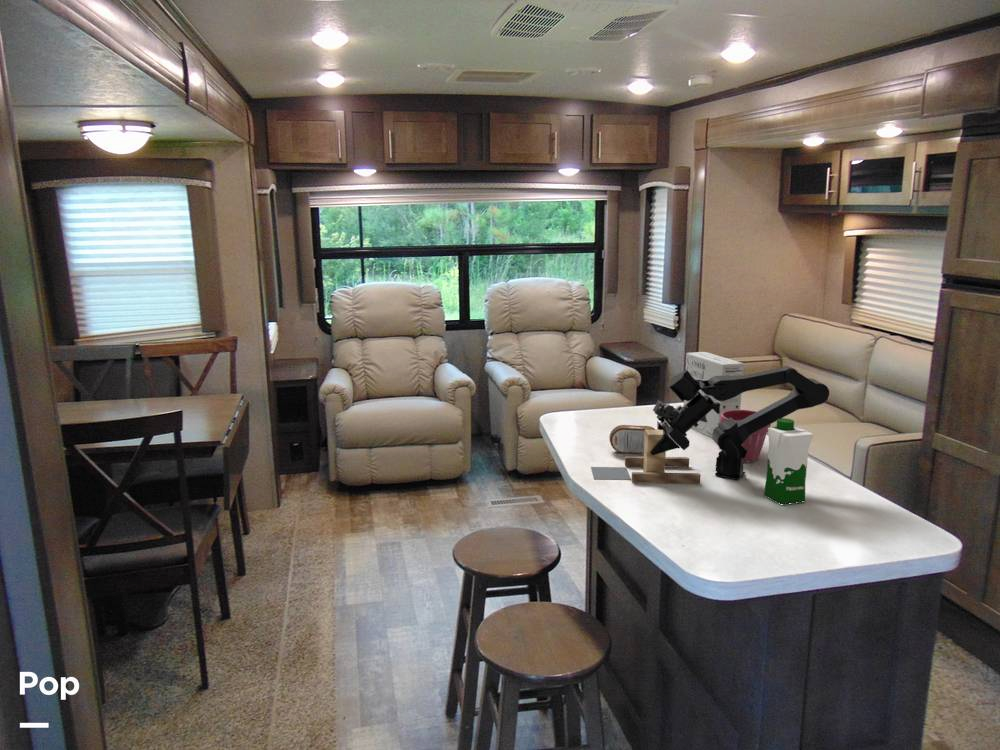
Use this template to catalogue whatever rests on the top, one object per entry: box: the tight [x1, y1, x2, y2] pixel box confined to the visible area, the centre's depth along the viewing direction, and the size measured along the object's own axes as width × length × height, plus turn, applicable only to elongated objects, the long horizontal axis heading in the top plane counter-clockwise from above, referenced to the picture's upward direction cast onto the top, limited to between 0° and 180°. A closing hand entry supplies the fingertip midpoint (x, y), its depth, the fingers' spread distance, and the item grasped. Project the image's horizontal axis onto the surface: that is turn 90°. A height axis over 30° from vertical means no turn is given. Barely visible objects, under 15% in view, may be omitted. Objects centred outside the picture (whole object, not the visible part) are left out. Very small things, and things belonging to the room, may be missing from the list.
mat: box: [590, 466, 632, 481], centre depth 204 cm, size 10×10×1 cm
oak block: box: [642, 429, 667, 473], centre depth 203 cm, size 5×5×12 cm
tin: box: [609, 424, 657, 455], centre depth 221 cm, size 15×3×8 cm, turn 84°
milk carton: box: [763, 417, 815, 505], centre depth 184 cm, size 9×9×20 cm
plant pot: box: [720, 409, 772, 463], centre depth 217 cm, size 14×14×13 cm
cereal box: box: [682, 351, 744, 439], centre depth 243 cm, size 22×8×25 cm, turn 17°
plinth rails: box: [624, 455, 702, 485], centre depth 204 cm, size 18×15×2 cm
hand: (649, 450), depth 203 cm, fingers closed on oak block, 5 cm apart
